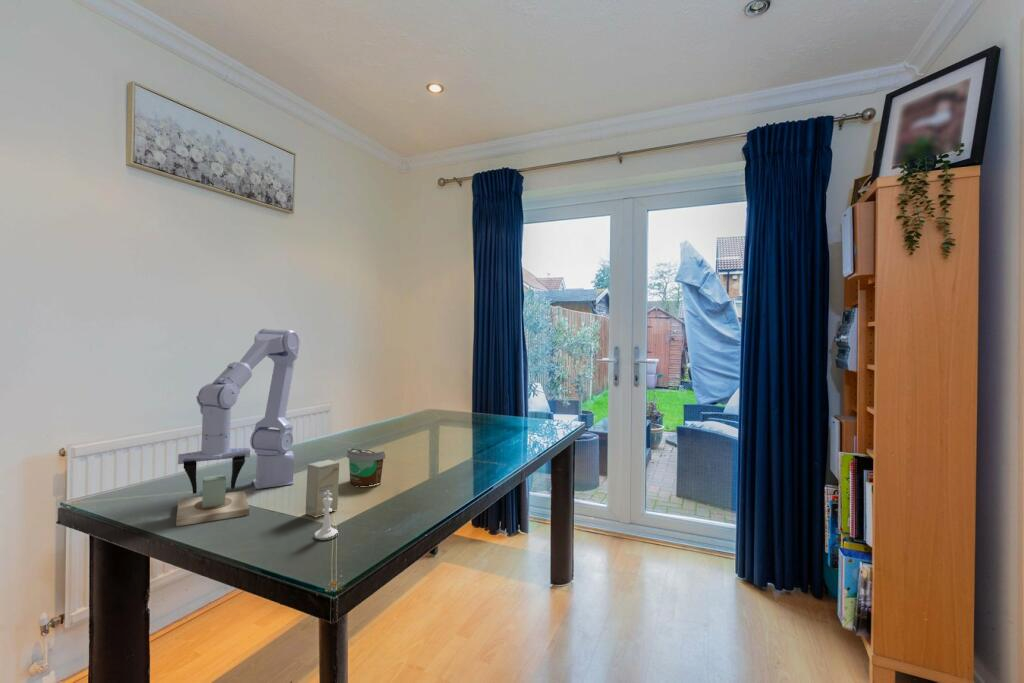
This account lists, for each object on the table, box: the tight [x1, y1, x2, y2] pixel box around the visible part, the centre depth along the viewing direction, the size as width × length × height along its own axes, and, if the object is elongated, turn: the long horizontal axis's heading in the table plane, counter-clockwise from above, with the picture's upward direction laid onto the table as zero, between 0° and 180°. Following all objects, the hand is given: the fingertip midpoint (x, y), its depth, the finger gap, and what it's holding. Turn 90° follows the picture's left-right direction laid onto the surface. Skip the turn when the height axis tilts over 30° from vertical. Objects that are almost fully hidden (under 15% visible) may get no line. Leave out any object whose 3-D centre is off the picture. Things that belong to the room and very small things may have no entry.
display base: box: [175, 490, 250, 527], centre depth 111 cm, size 14×14×2 cm
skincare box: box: [305, 459, 340, 517], centre depth 112 cm, size 6×4×12 cm
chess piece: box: [313, 490, 339, 538], centre depth 100 cm, size 5×5×10 cm
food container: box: [346, 445, 386, 488], centre depth 134 cm, size 12×6×10 cm, turn 68°
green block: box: [201, 474, 227, 508], centre depth 111 cm, size 4×4×6 cm
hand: (214, 489), depth 111 cm, fingers open, 7 cm apart
